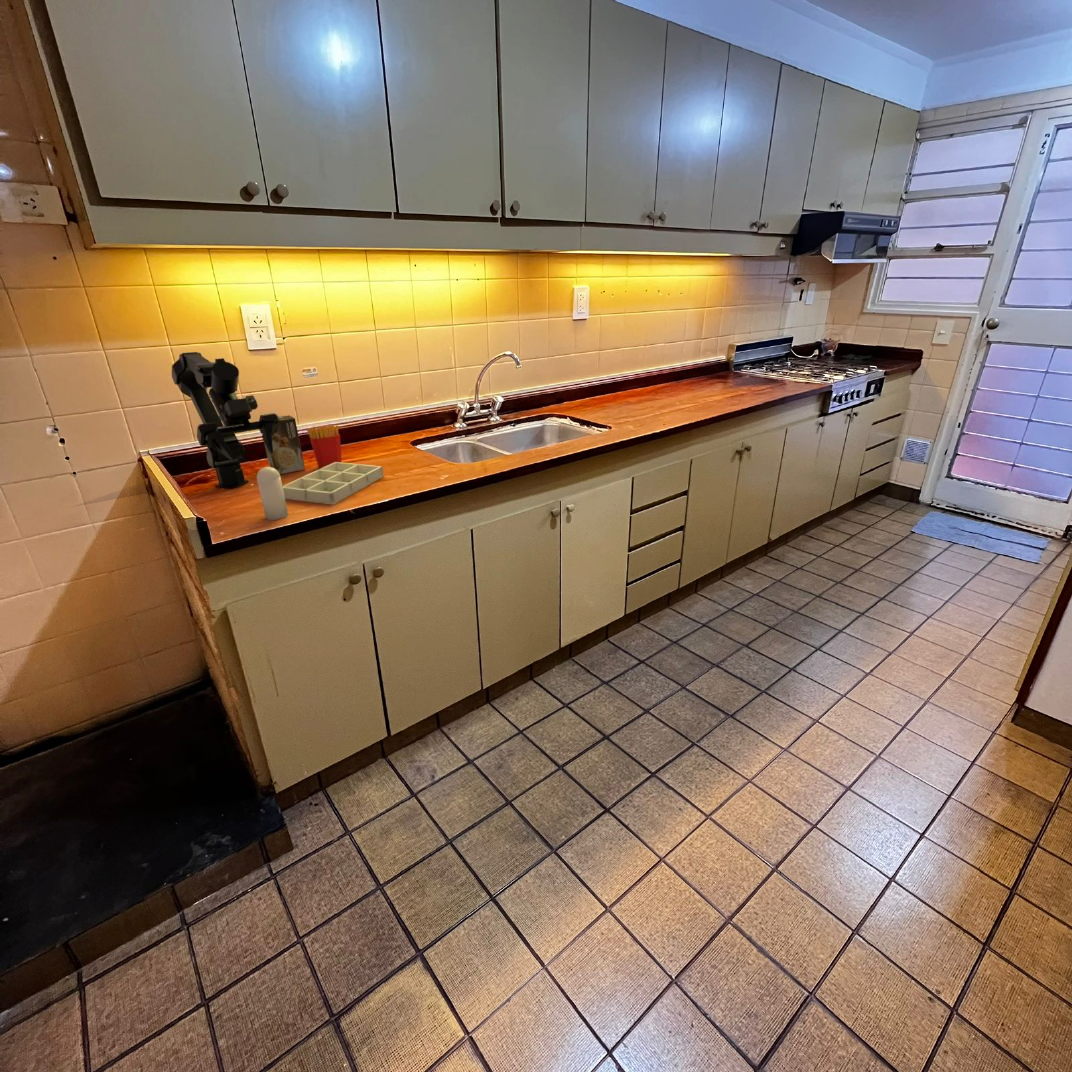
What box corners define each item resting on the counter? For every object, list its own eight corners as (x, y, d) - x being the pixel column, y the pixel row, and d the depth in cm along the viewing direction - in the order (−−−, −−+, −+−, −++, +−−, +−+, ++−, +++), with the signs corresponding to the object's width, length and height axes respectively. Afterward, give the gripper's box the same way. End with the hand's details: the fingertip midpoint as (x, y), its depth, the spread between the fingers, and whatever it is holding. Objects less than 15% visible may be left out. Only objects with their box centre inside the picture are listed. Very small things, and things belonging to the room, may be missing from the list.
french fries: (342, 462, 182) (335, 422, 176) (345, 465, 178) (339, 424, 173) (312, 467, 177) (305, 426, 172) (315, 470, 174) (308, 428, 169)
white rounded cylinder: (260, 518, 139) (249, 469, 134) (275, 511, 143) (265, 463, 138) (278, 521, 137) (267, 471, 132) (292, 513, 142) (282, 465, 137)
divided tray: (281, 498, 152) (279, 487, 151) (336, 471, 173) (335, 461, 171) (333, 504, 147) (331, 493, 146) (383, 476, 168) (382, 466, 167)
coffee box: (300, 465, 180) (290, 414, 173) (305, 469, 175) (296, 418, 168) (269, 470, 175) (258, 418, 168) (274, 475, 170) (263, 422, 163)
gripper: (187, 390, 131) (214, 445, 128) (269, 380, 143) (295, 431, 140) (187, 419, 139) (212, 471, 137) (264, 407, 151) (288, 455, 148)
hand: (253, 456), depth 140 cm, fingers open, 9 cm apart
